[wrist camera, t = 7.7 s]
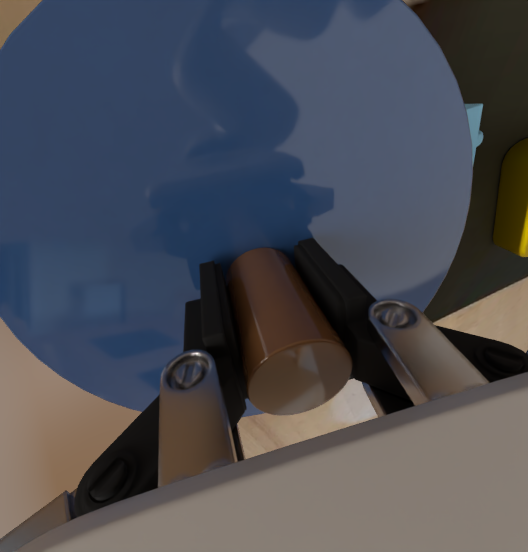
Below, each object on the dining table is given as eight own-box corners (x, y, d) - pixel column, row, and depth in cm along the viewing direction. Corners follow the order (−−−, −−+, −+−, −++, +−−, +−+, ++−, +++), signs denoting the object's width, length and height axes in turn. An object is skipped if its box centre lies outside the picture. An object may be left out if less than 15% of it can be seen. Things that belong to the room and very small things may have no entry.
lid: (446, -203, 7) (1391, -1369, 1) (451, 313, 17) (565, 403, 12) (-202, 151, 7) (-1192, 258, 2) (183, 439, 17) (179, 577, 12)
